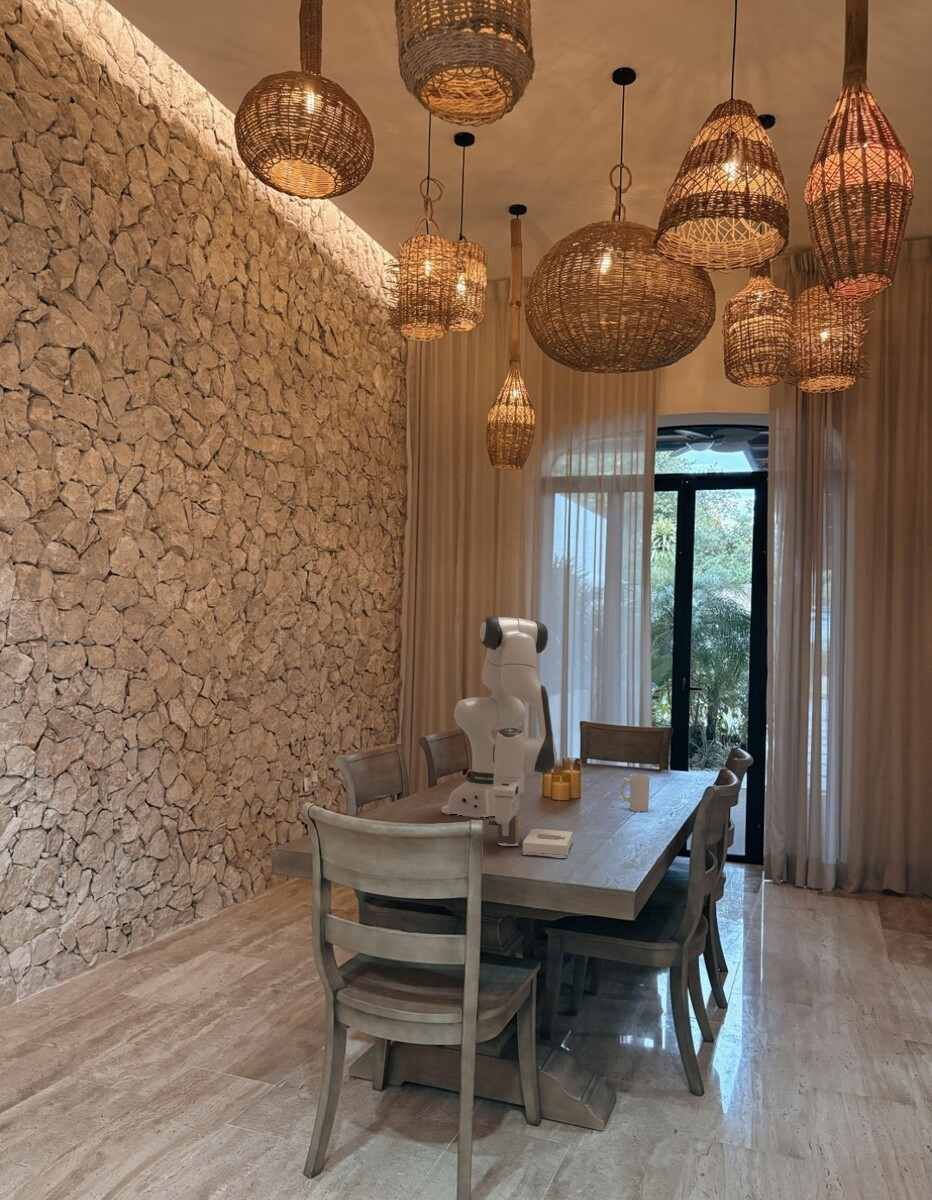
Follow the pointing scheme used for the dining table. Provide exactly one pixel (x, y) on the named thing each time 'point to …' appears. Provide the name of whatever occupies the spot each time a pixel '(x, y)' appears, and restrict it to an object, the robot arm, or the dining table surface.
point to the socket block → (548, 842)
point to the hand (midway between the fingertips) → (507, 833)
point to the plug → (513, 831)
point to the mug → (637, 792)
